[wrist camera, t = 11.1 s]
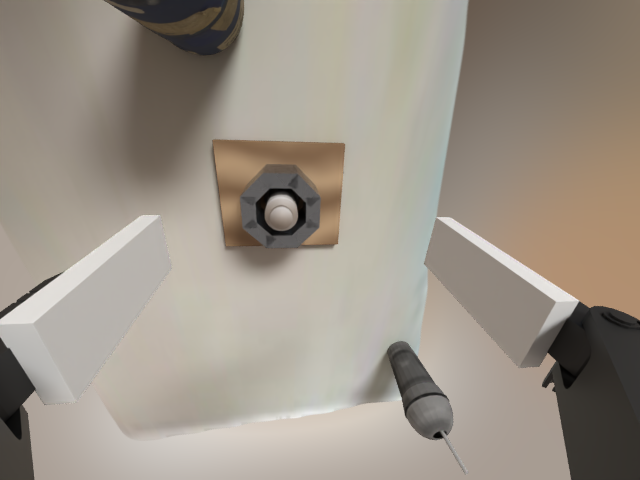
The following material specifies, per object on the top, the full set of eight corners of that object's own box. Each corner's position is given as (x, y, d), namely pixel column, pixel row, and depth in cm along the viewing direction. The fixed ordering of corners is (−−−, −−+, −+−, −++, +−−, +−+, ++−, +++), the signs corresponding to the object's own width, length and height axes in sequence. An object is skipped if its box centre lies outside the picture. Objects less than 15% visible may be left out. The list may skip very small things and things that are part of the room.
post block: (215, 139, 32) (190, 147, 24) (343, 143, 34) (361, 151, 26) (227, 242, 38) (211, 277, 30) (336, 240, 40) (349, 273, 32)
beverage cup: (387, 334, 50) (445, 458, 32) (421, 337, 51) (496, 457, 33) (375, 362, 52) (423, 489, 34) (408, 364, 54) (470, 487, 36)
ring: (245, 163, 33) (237, 172, 27) (315, 165, 34) (321, 174, 28) (250, 229, 36) (244, 248, 31) (313, 228, 37) (318, 247, 32)
